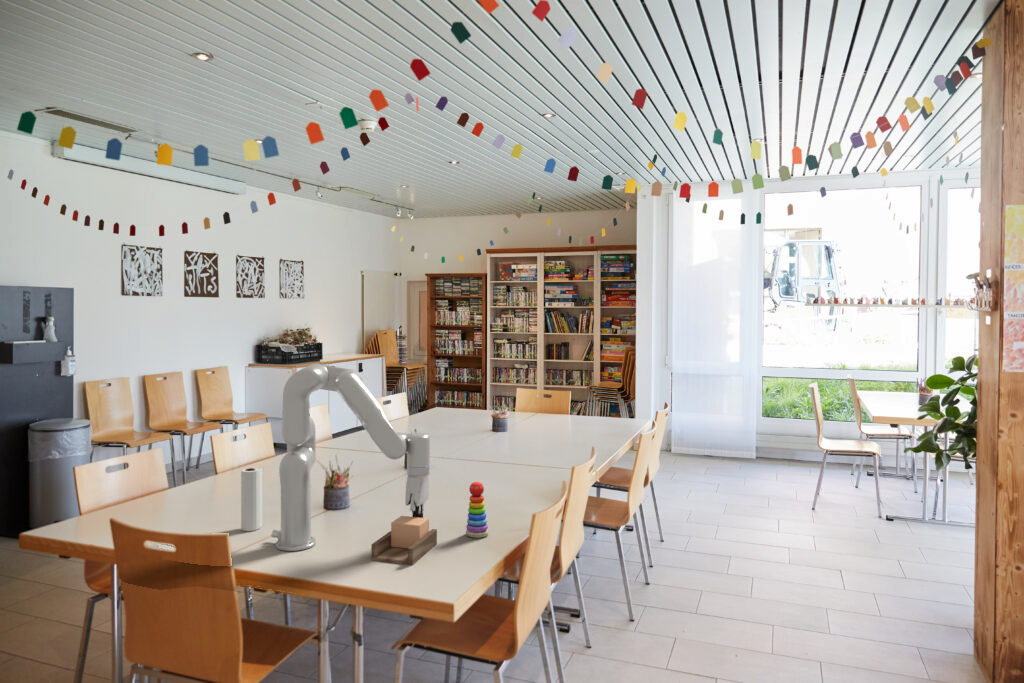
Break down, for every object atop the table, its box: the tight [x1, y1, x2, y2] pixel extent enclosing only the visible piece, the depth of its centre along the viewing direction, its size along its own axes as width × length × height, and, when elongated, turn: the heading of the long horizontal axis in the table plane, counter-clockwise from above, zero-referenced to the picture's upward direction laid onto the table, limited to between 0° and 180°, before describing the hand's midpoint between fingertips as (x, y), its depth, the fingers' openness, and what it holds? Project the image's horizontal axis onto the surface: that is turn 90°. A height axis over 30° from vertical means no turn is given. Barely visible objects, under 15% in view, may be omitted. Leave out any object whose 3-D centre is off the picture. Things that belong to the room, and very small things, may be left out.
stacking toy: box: [465, 481, 489, 539], centre depth 238 cm, size 8×8×19 cm
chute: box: [370, 528, 438, 566], centre depth 221 cm, size 14×20×5 cm
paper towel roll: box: [240, 467, 265, 532], centre depth 241 cm, size 7×6×21 cm
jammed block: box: [390, 515, 430, 548], centre depth 224 cm, size 10×8×8 cm
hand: (417, 524), depth 230 cm, fingers closed
